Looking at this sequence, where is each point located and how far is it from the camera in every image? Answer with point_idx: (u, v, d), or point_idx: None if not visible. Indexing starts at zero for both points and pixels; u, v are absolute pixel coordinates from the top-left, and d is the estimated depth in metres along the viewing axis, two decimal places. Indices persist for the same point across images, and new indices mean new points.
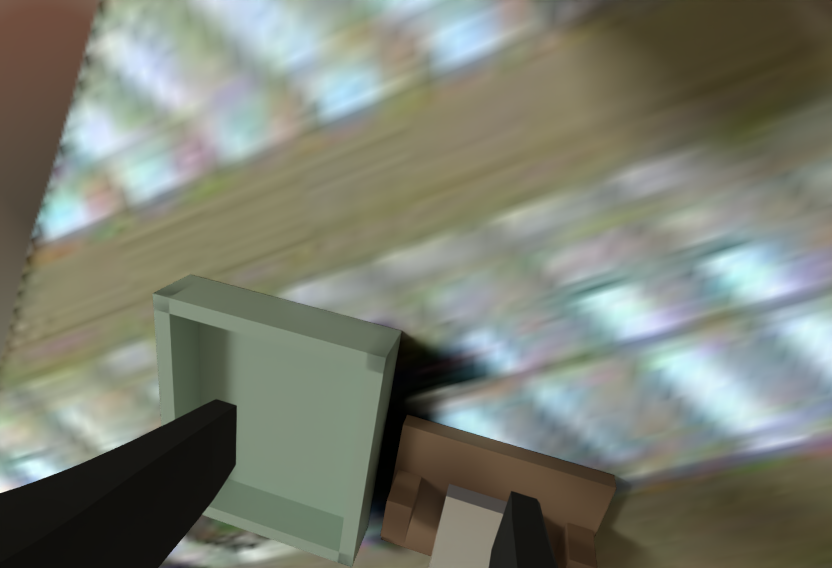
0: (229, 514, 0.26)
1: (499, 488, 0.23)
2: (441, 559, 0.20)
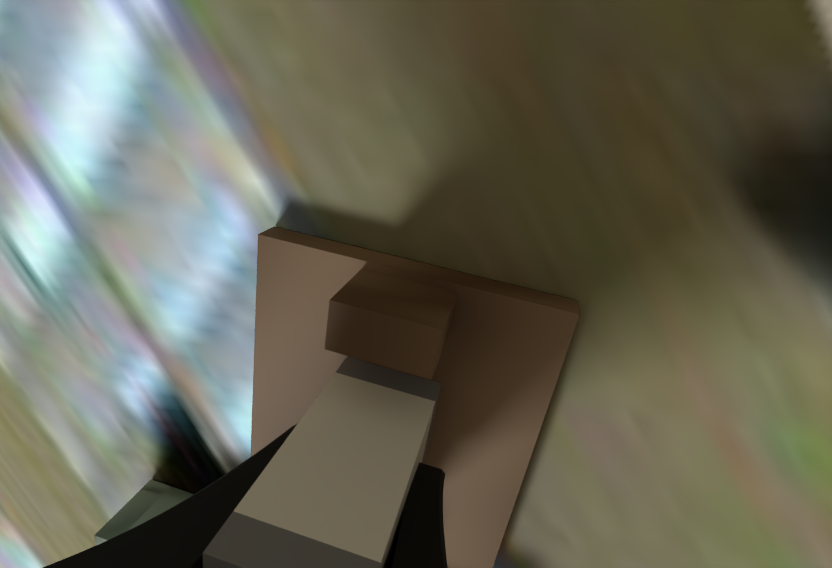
0: None
1: None
2: None
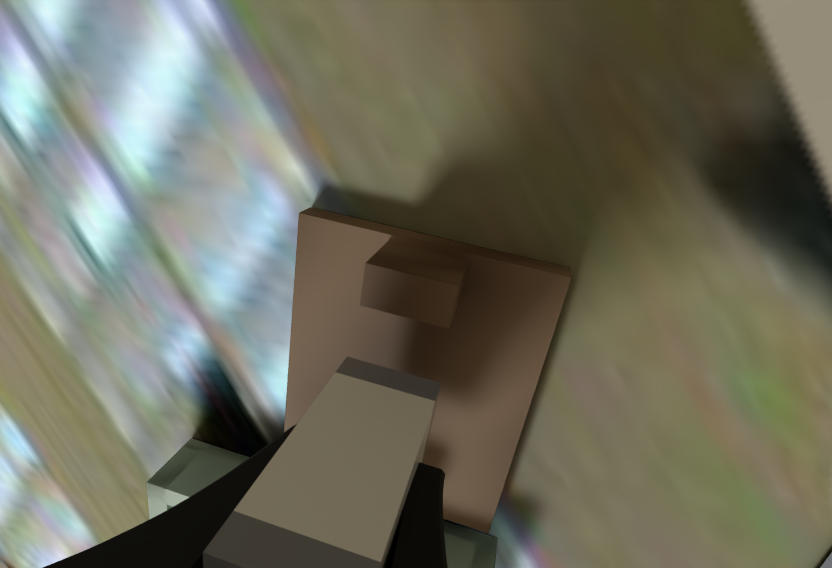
0: None
1: None
2: None
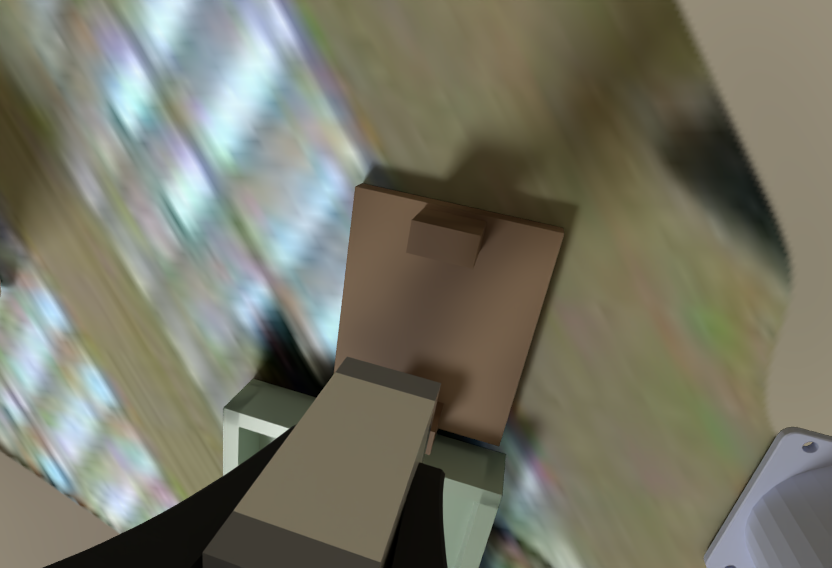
0: None
1: (388, 310, 0.20)
2: None
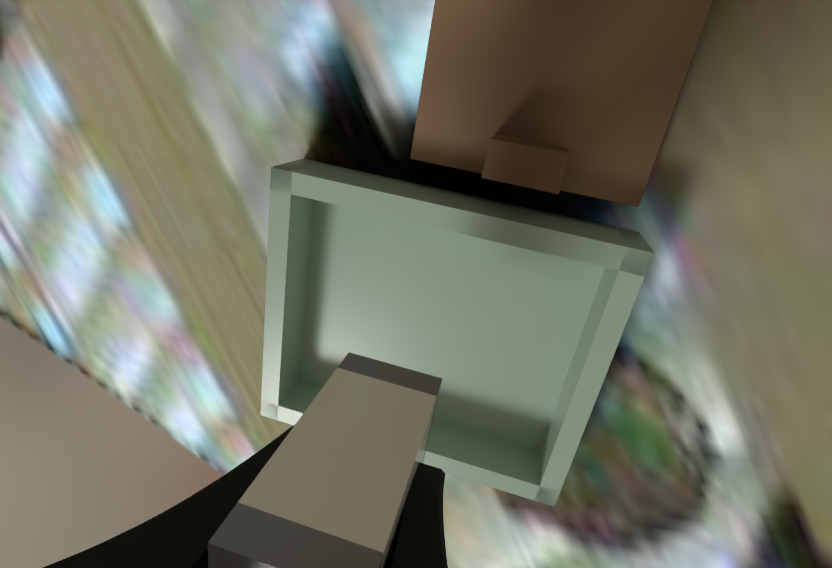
0: (564, 426, 0.18)
1: (499, 4, 0.15)
2: None
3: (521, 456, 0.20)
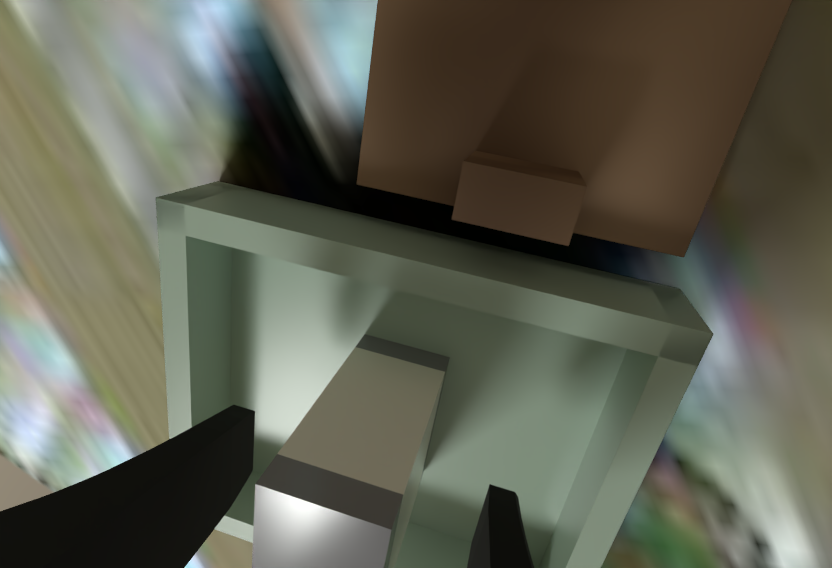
0: (575, 556, 0.13)
1: None
2: None
3: None
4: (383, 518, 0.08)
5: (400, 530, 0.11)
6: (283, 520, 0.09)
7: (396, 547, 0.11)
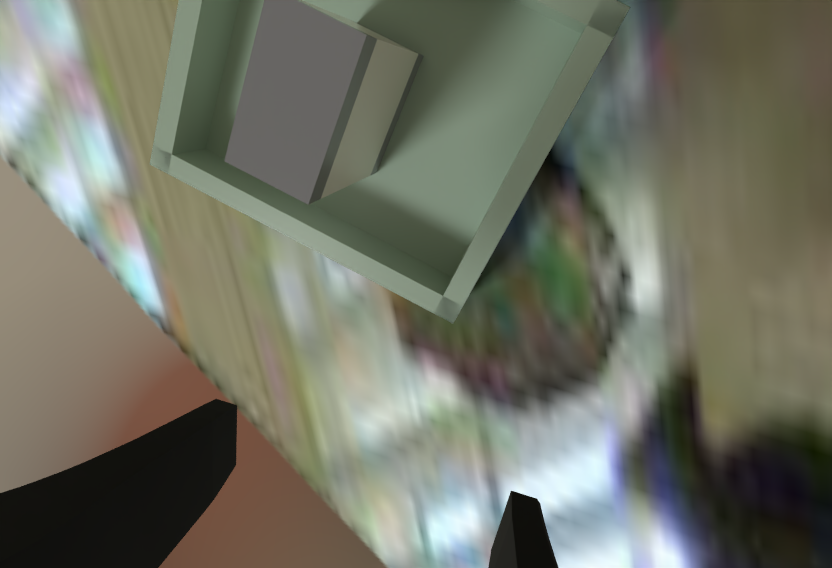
0: (485, 224, 0.16)
1: None
2: None
3: (431, 273, 0.18)
4: (361, 31, 0.11)
5: (359, 125, 0.14)
6: (282, 27, 0.11)
7: (353, 140, 0.14)
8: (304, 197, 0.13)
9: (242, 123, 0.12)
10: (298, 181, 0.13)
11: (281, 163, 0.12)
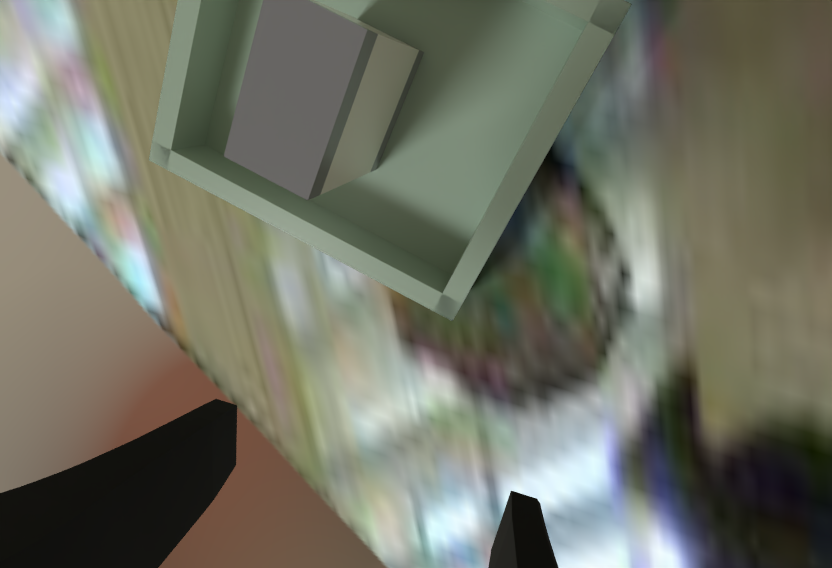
0: (485, 221, 0.16)
1: None
2: None
3: (431, 270, 0.18)
4: (361, 26, 0.11)
5: (360, 121, 0.13)
6: (282, 22, 0.11)
7: (353, 136, 0.14)
8: (304, 193, 0.13)
9: (242, 118, 0.12)
10: (298, 177, 0.12)
11: (281, 158, 0.12)
